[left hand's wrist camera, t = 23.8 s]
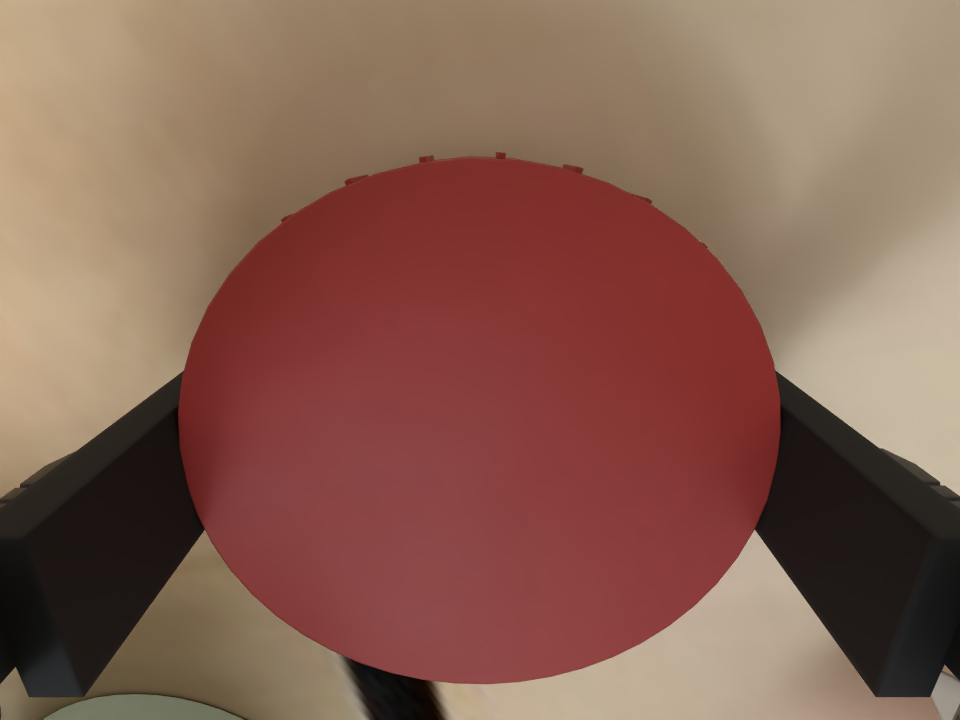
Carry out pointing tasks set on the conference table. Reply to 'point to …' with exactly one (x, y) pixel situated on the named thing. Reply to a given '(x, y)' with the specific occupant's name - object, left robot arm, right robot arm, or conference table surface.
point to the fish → (946, 695)
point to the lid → (479, 420)
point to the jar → (139, 709)
